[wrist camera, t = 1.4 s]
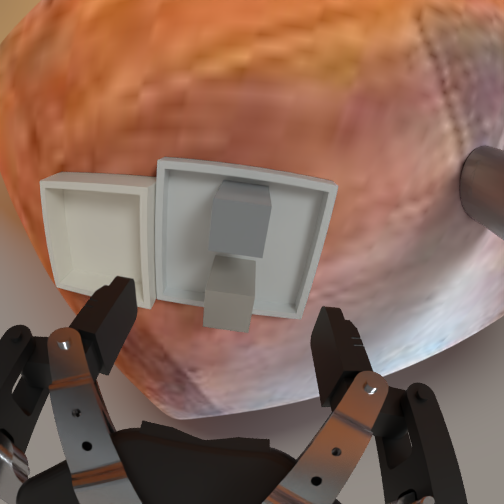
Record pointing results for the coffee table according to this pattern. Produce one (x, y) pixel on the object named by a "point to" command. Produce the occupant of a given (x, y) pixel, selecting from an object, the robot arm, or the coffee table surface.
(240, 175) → the parts tray
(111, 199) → the open box
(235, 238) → the blue-grey block
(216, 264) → the light grey block
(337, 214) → the coffee table surface
